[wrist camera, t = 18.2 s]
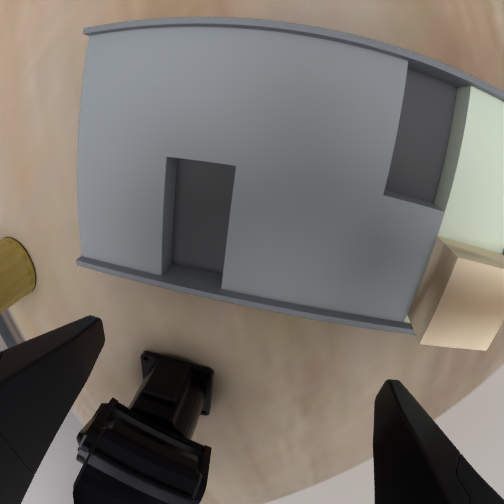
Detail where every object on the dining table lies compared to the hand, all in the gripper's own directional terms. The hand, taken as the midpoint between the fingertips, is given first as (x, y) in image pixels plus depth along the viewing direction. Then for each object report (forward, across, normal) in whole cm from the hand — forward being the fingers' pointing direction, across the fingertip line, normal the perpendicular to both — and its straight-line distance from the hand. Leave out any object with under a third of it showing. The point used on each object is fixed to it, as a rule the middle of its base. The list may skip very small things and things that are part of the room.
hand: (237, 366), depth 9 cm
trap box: (+12, -1, -4) cm, 13 cm away
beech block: (+10, -12, 0) cm, 16 cm away
